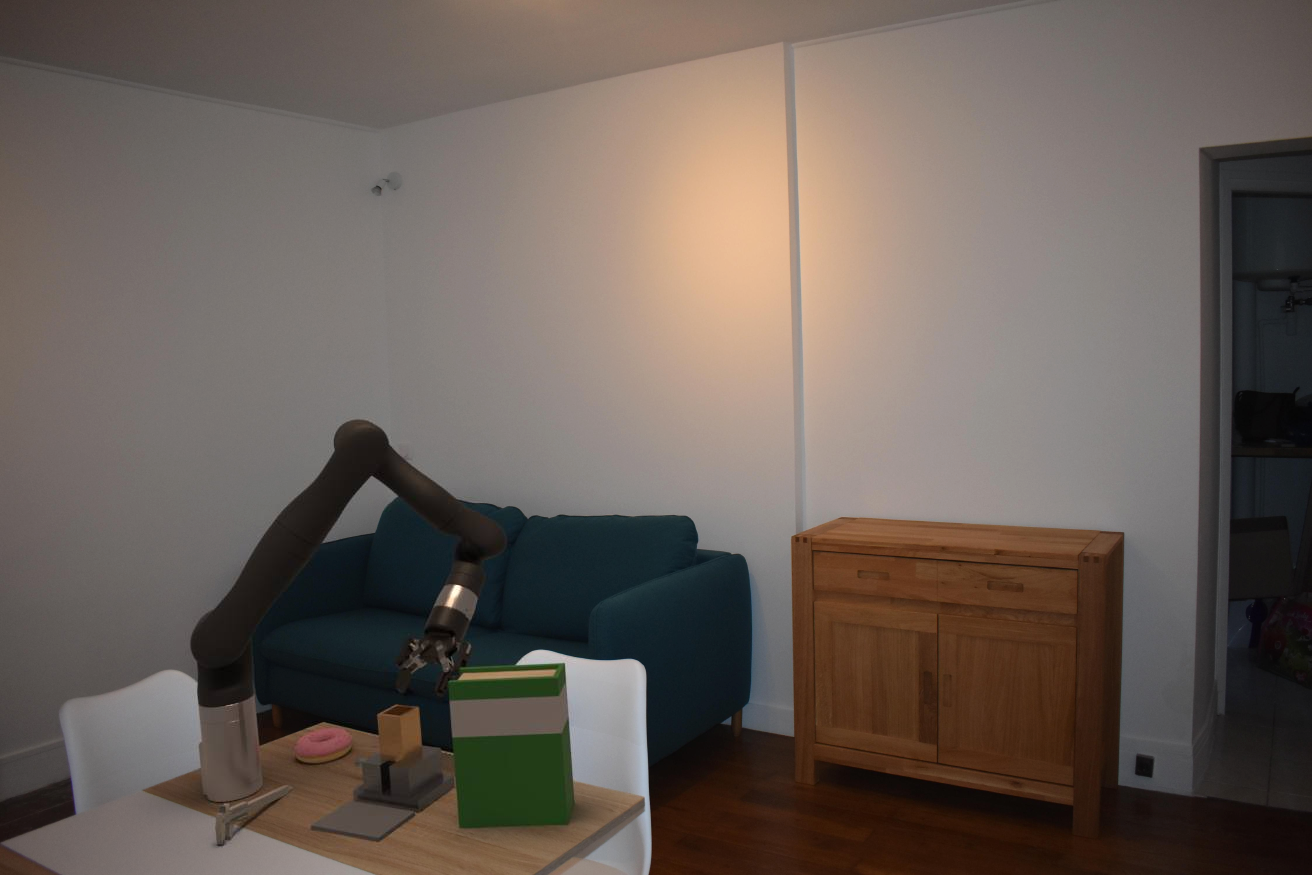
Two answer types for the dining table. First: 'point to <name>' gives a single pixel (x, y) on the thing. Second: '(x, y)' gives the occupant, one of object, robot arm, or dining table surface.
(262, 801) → the caliper
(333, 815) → the slate pad
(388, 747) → the copper collar
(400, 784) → the grey slotted block
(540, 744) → the hardback book
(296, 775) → the dining table surface
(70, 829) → the dining table surface
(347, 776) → the dining table surface
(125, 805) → the dining table surface
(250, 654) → the robot arm
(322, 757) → the doughnut
